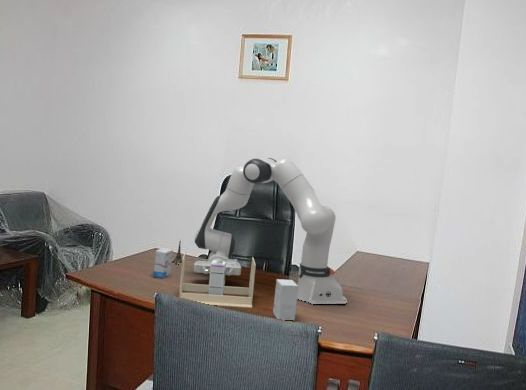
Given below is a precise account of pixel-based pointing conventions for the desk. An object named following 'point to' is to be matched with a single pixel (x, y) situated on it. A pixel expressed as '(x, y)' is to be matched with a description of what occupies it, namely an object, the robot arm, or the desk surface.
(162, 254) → the ink box
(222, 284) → the syrup box
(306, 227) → the robot arm
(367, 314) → the desk surface
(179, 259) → the eiffel tower figurine
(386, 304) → the desk surface
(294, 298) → the small box
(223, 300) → the wooden rack
